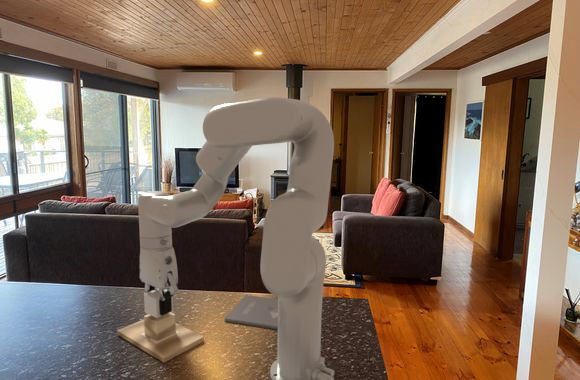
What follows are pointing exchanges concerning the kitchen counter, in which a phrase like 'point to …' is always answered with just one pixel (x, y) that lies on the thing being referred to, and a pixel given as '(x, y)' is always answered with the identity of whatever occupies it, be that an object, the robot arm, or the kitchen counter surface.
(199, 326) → the kitchen counter surface
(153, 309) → the white cube
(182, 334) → the base board
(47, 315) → the kitchen counter surface
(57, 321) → the kitchen counter surface
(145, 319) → the maple block
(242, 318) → the play button award
